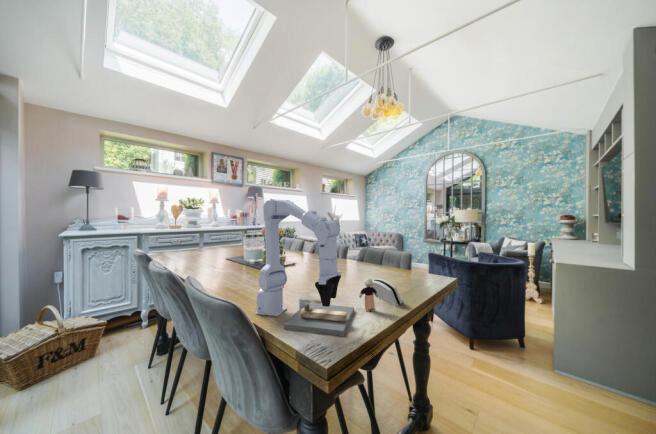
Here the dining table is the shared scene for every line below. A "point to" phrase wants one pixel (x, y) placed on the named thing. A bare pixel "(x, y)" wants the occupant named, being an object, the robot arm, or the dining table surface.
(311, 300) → the keeper
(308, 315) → the link
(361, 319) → the dining table surface
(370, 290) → the grandmother figurine
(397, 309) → the dining table surface
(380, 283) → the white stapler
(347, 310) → the board
